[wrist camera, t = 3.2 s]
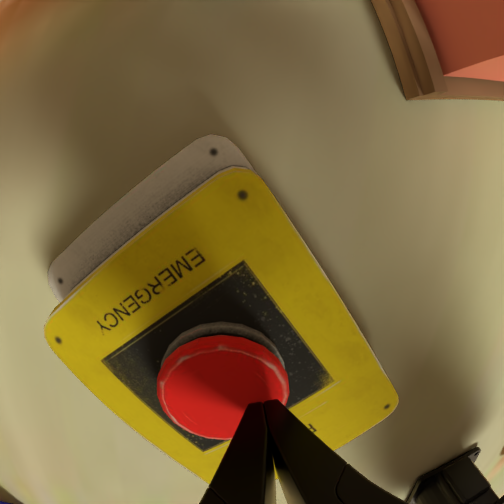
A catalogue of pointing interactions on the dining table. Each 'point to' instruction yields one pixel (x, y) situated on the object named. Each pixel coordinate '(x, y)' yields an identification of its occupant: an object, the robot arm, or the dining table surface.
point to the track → (425, 58)
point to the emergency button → (209, 314)
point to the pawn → (467, 36)
